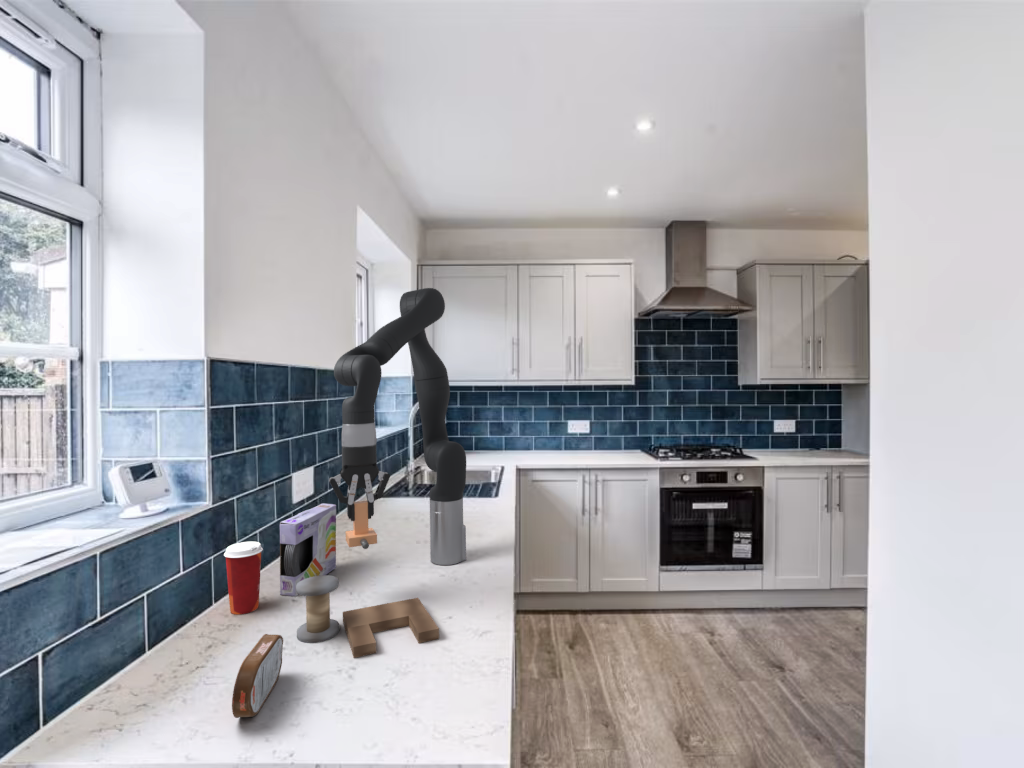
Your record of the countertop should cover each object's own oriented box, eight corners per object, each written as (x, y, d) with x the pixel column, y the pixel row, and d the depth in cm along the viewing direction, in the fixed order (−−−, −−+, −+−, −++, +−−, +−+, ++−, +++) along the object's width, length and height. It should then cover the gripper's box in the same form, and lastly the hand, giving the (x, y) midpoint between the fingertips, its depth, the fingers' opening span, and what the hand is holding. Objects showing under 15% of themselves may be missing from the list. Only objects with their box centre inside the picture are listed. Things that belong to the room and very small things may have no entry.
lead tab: (372, 536, 122) (371, 497, 122) (380, 548, 113) (379, 507, 113) (345, 539, 119) (344, 500, 119) (351, 552, 110) (351, 510, 110)
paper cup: (271, 604, 118) (270, 542, 118) (243, 619, 110) (242, 553, 110) (244, 599, 120) (243, 539, 120) (215, 613, 113) (214, 549, 113)
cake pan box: (294, 599, 120) (293, 522, 120) (275, 597, 121) (274, 521, 121) (338, 569, 139) (337, 503, 139) (321, 568, 140) (320, 502, 140)
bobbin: (337, 620, 109) (336, 572, 109) (341, 637, 102) (341, 586, 102) (296, 628, 106) (295, 579, 106) (297, 646, 99) (296, 593, 99)
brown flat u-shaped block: (418, 606, 115) (417, 597, 115) (439, 638, 101) (438, 628, 101) (342, 621, 109) (342, 611, 109) (353, 658, 94) (353, 647, 94)
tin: (267, 673, 90) (267, 624, 90) (286, 672, 90) (286, 623, 90) (229, 731, 75) (228, 673, 75) (252, 730, 75) (251, 672, 75)
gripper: (387, 439, 124) (388, 511, 124) (324, 443, 118) (326, 519, 118) (393, 442, 117) (395, 519, 117) (328, 447, 111) (329, 527, 112)
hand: (360, 518), depth 118 cm, fingers closed on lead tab, 3 cm apart
